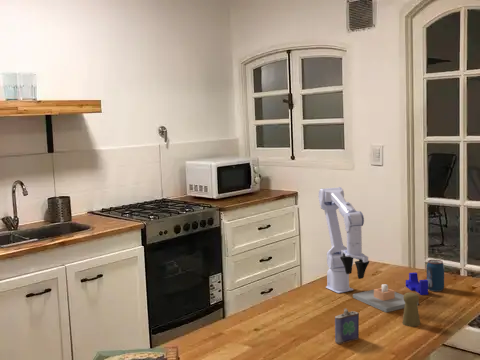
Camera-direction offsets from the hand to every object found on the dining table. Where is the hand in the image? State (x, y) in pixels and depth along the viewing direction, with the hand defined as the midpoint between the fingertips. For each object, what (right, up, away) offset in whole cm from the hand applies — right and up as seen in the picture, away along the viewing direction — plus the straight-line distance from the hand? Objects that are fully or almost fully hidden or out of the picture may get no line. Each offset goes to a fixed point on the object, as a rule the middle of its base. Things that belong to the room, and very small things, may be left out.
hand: (354, 276), depth 220 cm
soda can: (+36, -8, +12) cm, 39 cm away
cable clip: (+28, -8, +12) cm, 32 cm away
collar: (+12, -9, 0) cm, 14 cm away
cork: (+15, -13, -24) cm, 31 cm away
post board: (+12, -10, 0) cm, 16 cm away
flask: (-10, -15, -36) cm, 40 cm away
